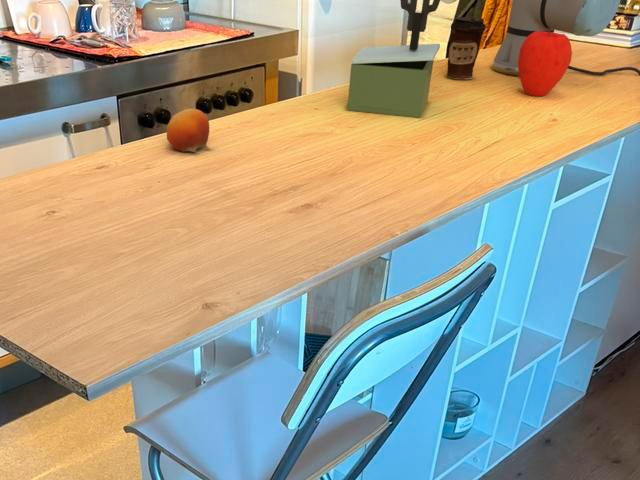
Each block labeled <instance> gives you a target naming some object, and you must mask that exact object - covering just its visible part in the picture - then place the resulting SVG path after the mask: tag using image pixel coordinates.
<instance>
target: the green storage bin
mask: <svg viewBox="0 0 640 480" xmlns="http://www.w3.org/2000/svg"><path fill="white" fill-rule="evenodd" d="M434 60H435V59H434ZM434 60H431V61H408V62H384V63H360V64H352V63H351V65H350V75H349V85H348V96H347V106H346V111H352V112H362V113H371V114H372V113H373V114H381V115H391V116H401V117H409V118H410V117H411V118H419V119H420V118H421V117H422V115H423V112H424V110H425V108H426V106H427V104H428V102H429V101H428V100H429V94H430V86H431V81H432V74H433V67H434Z"/></svg>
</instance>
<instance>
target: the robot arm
mask: <svg viewBox="0 0 640 480" xmlns="http://www.w3.org/2000/svg"><path fill="white" fill-rule="evenodd" d="M399 1H400V8H401V9H402V10H405V11H406V12H407V13H408V17H407V24H406V30H407V31H408V32H411V34H410V40H409V41H410V42H409V45H410V48H409V50H417V48H418V45H419V42H420V34H421V33H424V32H425V31H426V29H427V22H428V16H429V14H430V13H433V12H436V11H437V10H438V7H439V5H440V3H441V0H433V1H432V4H430V3H431V0H422V4H421V5H422V6H421V11H420V12H417V7H418V0H410V1H409V0H399ZM620 4H621V0H511V6H510V11H509V17H508V23H507V28H506V32H505V36H504V38H503V40H502V42H501V43H500V46H499V48H498V50H497V52H496V55H495V56H494V58H493V61H492V65H491V66H492V67H491V68H492V70H494V71H495V72H498V73H500V74H504V75H510V76H517V77H519V72H518V58H519V53H520V48H521V46H522V44H523V42H524V41H525V39H526V38H527V37H528V36H529V35H530V34H532V33H533V32H535V31H543V32H548V31H549V30H550V32H553V33H555V31H558V32H563V33H568V34H570V35H571V34H572V35H574V36H578V37H581V36H582V37H595V36H597V35H599V34H601V33H602V32H603V31H604V30H605V29H607V27H608V26H609V24H610V23H611V22H612V20H613V19H614V17H615V15H616V13H617V12H618V9H619V7H620ZM567 70H571V71H573V72H574V71H575V72H578V73H583V74H587V75H592V76H604V75H605V74H608V73H609V74H610V73H616V72H623V71H633V72H635V73H637V74H638V75H639V76H640V69H639V68H637V67H633V66H624V67H617V68H611V69H604V70H602V71H592V70H588V69H583V68H580V67H579V68H578V67H575V66H571V65H569V67H568V69H567Z"/></svg>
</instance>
